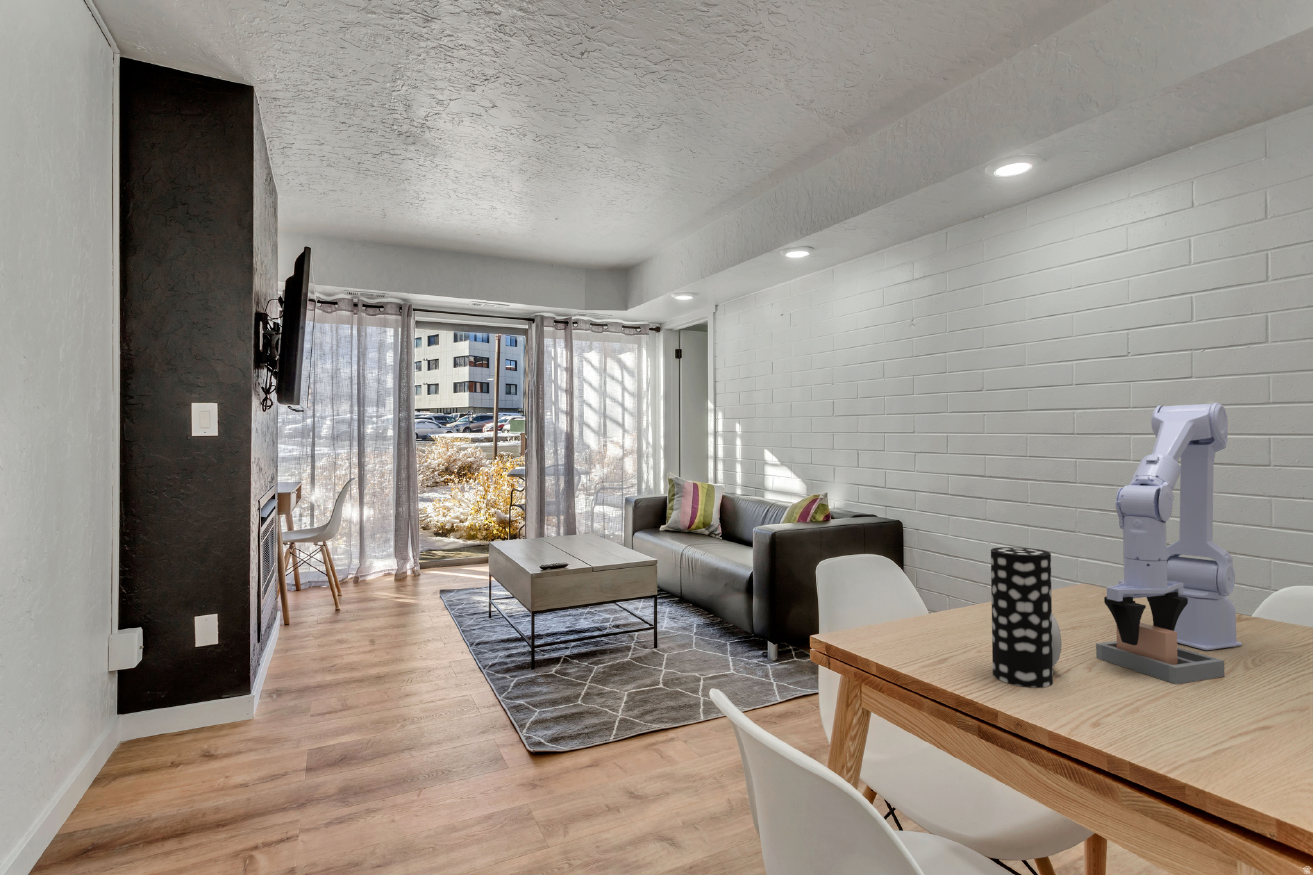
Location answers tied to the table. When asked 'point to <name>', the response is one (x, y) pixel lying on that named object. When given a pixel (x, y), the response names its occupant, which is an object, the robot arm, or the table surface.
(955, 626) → the table surface
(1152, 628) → the brick block
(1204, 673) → the dish rack
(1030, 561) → the spotted tube
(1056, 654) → the donut
